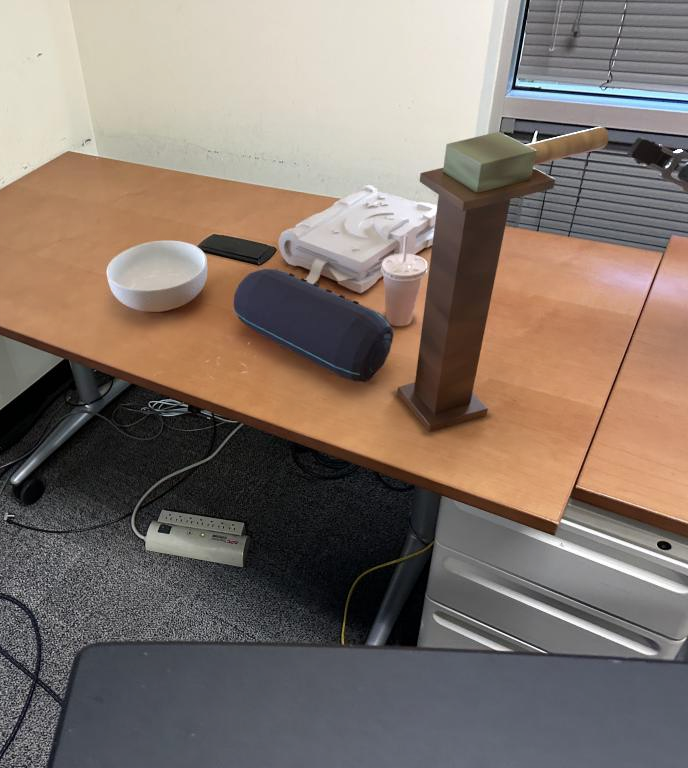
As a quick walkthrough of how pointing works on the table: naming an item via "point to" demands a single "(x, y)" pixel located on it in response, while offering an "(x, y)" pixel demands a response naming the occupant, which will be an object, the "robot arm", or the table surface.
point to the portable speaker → (315, 323)
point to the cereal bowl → (158, 275)
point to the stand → (459, 296)
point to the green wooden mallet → (512, 157)
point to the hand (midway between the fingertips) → (664, 159)
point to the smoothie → (402, 285)
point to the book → (358, 237)
